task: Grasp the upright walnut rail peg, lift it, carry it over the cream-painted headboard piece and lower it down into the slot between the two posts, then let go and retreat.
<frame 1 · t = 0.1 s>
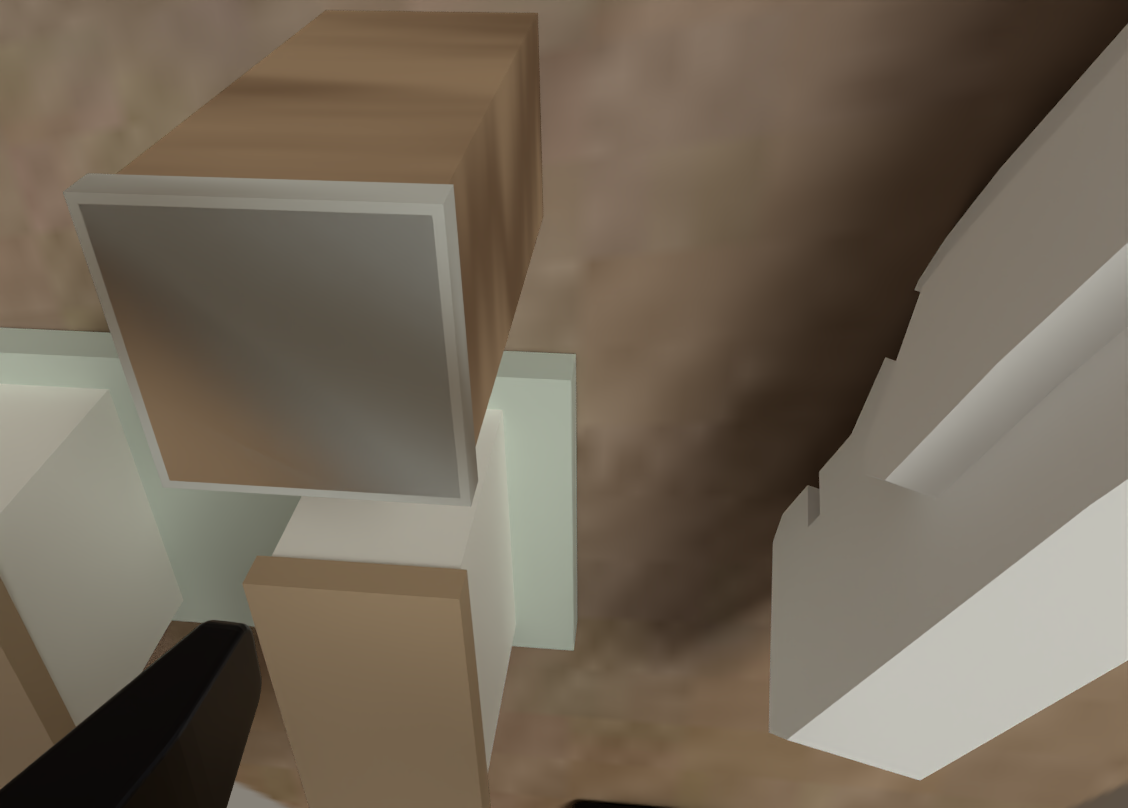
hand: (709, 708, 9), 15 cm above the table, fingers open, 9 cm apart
shelf bracket: (1100, 118, 20), on the table
rail peg: (440, 118, 21), on the table
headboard: (272, 483, 28), on the table
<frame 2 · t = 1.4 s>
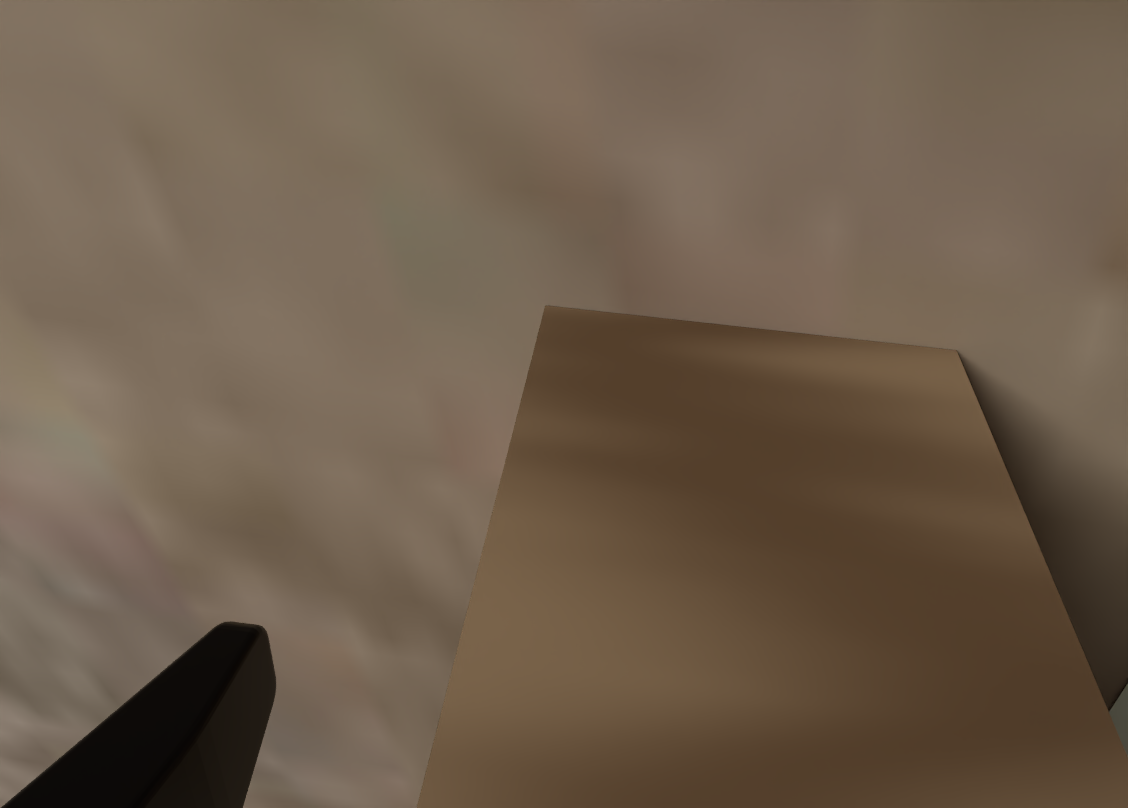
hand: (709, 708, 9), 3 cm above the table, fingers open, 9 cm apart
rail peg: (716, 483, 12), on the table
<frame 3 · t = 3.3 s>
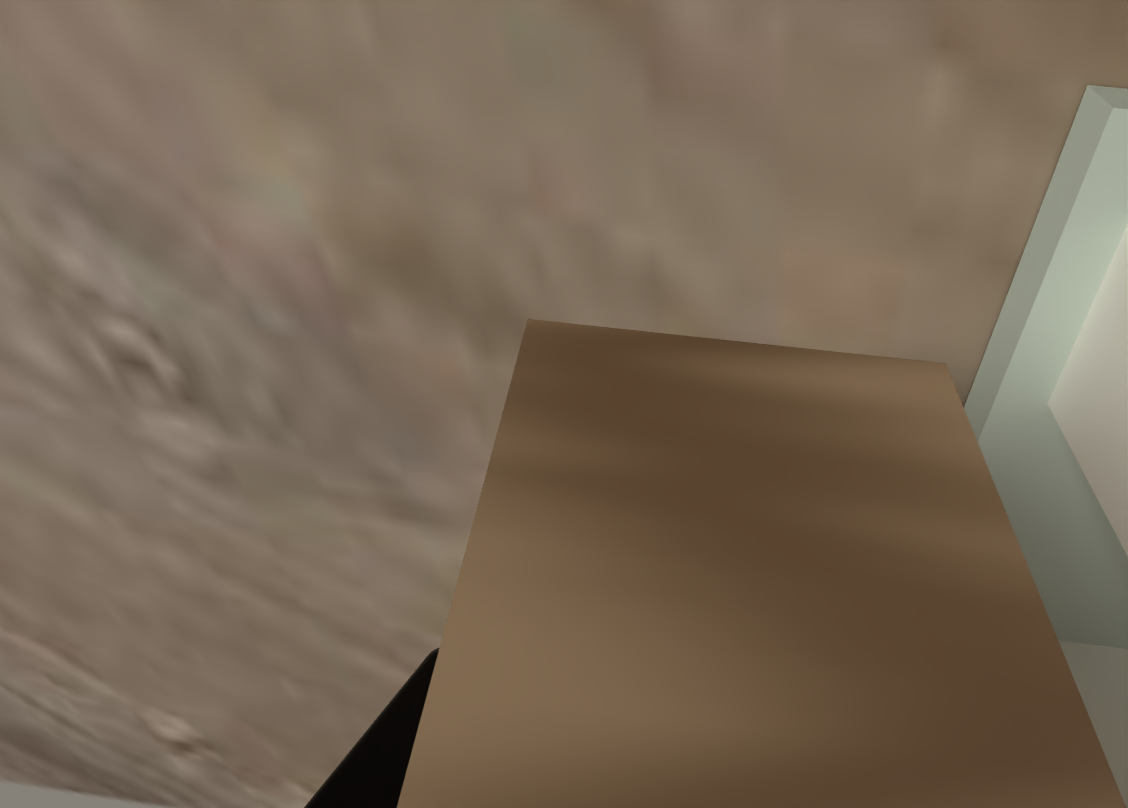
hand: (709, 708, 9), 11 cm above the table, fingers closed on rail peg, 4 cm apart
rail peg: (703, 497, 12), point 8 cm above the table, touching gripper
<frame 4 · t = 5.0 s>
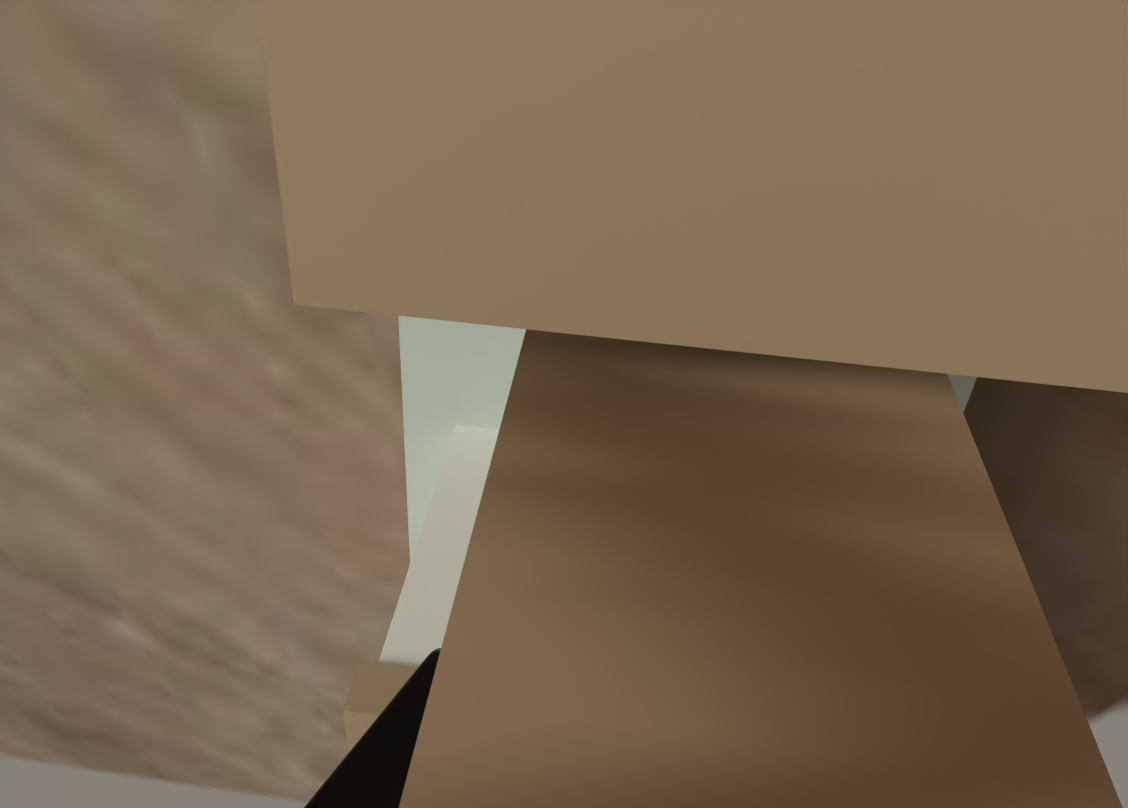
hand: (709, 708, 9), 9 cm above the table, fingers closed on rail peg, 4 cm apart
rail peg: (703, 503, 12), point 6 cm above the table, touching gripper
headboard: (691, 262, 17), on the table
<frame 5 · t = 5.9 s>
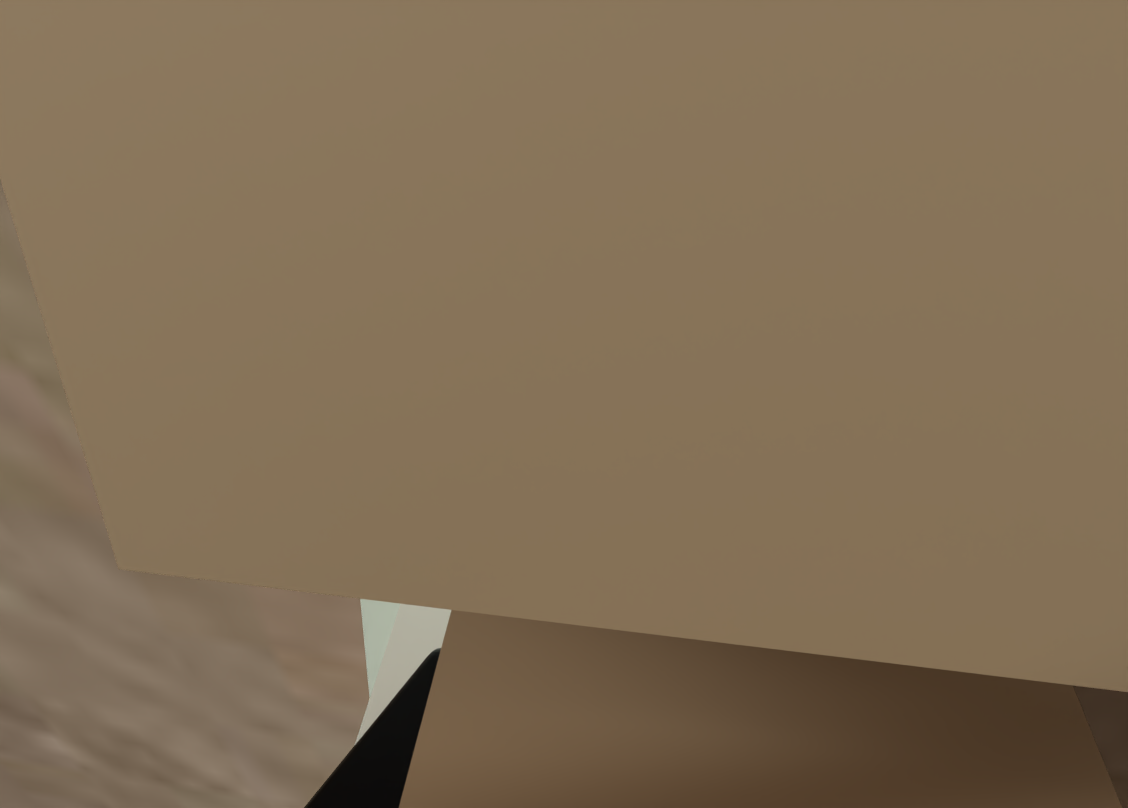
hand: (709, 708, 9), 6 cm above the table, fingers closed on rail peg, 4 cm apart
rail peg: (703, 502, 12), point 3 cm above the table, touching gripper
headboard: (697, 367, 14), on the table
when the fingers open (6 cm above the table, at t = 6.3 s): rail peg drops 2 cm, resting on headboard.
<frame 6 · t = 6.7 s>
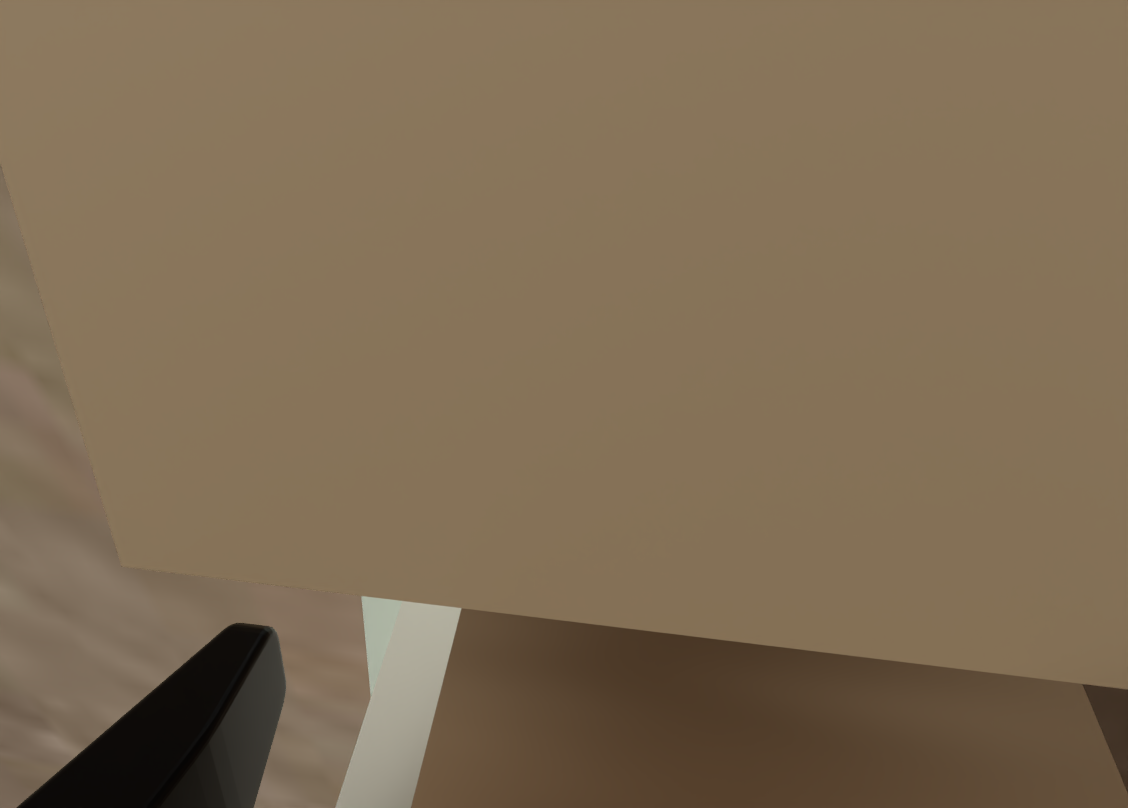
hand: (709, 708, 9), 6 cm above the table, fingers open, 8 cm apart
rail peg: (706, 417, 13), point 1 cm above the table, touching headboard
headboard: (699, 366, 14), on the table
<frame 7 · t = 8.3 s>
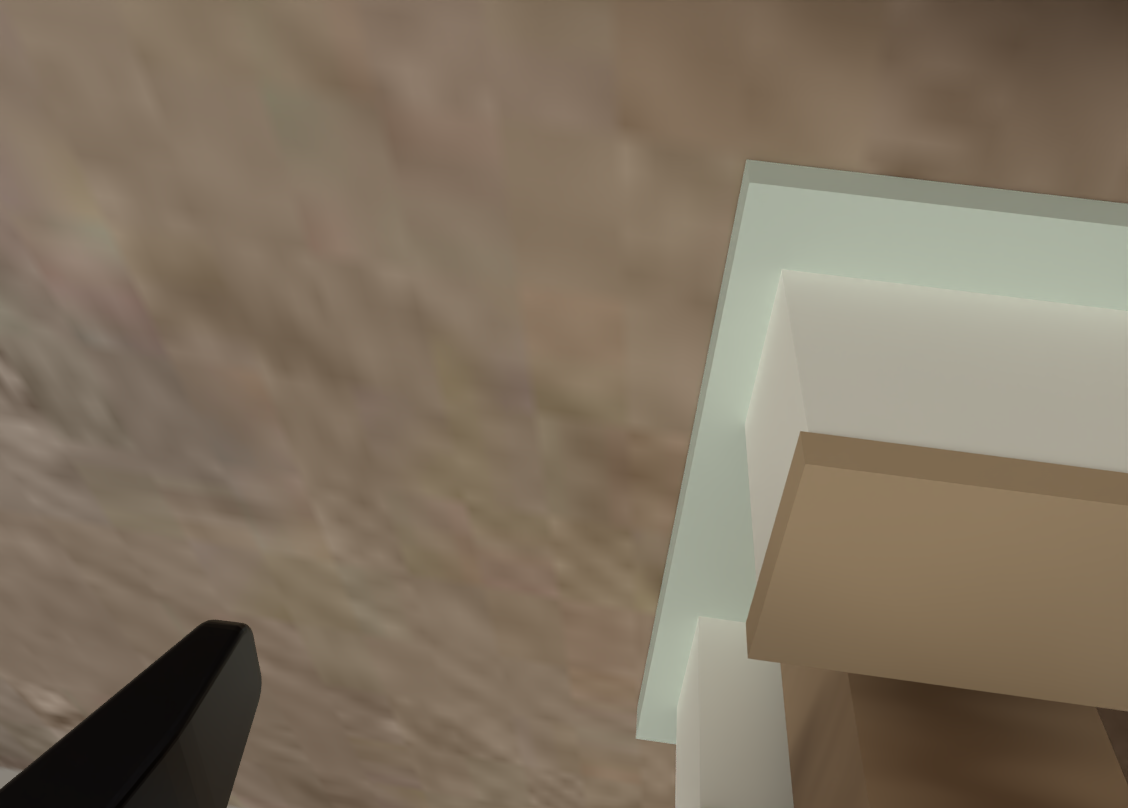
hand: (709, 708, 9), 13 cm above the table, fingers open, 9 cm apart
rail peg: (884, 551, 23), point 1 cm above the table, touching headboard
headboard: (873, 516, 24), on the table
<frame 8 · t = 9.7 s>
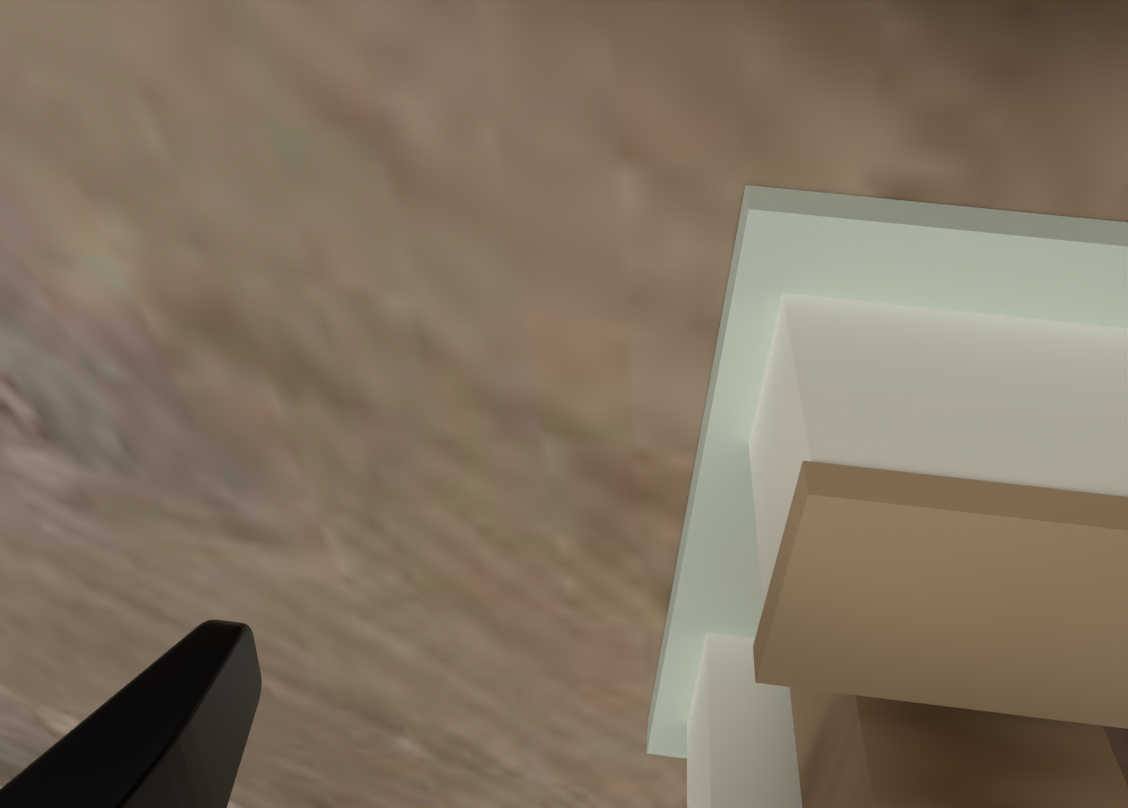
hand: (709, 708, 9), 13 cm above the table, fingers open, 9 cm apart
rail peg: (890, 566, 24), point 1 cm above the table, touching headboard
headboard: (879, 531, 25), on the table
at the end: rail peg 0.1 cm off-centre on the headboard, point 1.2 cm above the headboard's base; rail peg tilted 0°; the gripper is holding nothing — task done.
